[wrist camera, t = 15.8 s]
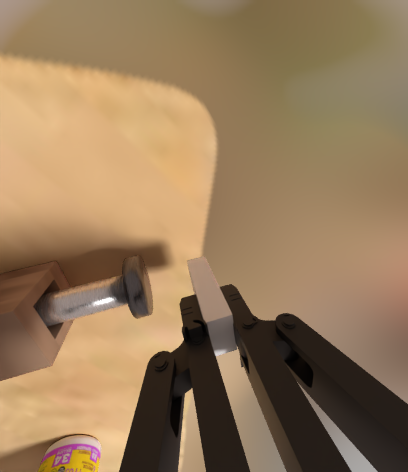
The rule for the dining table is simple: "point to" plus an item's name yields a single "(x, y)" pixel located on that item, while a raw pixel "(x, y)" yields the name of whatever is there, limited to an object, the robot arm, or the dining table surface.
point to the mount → (29, 320)
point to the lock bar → (100, 296)
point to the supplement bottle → (72, 455)
